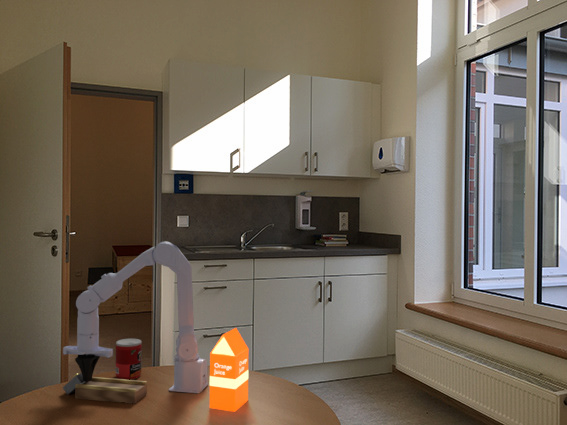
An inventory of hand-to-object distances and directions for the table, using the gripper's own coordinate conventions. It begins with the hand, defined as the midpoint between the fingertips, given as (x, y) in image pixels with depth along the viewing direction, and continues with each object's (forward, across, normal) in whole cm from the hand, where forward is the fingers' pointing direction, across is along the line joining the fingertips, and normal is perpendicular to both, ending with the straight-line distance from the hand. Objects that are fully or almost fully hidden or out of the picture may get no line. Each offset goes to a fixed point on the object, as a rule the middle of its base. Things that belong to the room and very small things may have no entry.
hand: (87, 380), depth 141 cm
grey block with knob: (+2, -3, 0) cm, 4 cm away
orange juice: (+4, +42, +2) cm, 42 cm away
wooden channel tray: (+4, +8, 0) cm, 8 cm away
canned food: (+4, +4, +17) cm, 18 cm away
